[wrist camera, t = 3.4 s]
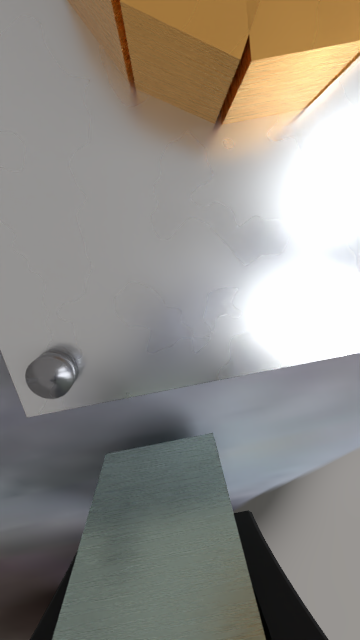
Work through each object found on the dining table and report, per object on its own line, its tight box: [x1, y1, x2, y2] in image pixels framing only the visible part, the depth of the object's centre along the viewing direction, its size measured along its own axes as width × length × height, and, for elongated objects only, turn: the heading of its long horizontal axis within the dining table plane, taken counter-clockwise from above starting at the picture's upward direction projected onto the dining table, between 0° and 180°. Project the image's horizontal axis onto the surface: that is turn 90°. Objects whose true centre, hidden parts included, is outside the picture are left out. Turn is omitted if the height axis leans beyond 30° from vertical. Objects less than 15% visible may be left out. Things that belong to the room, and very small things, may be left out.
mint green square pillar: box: [52, 433, 266, 640], centre depth 7 cm, size 4×4×8 cm
